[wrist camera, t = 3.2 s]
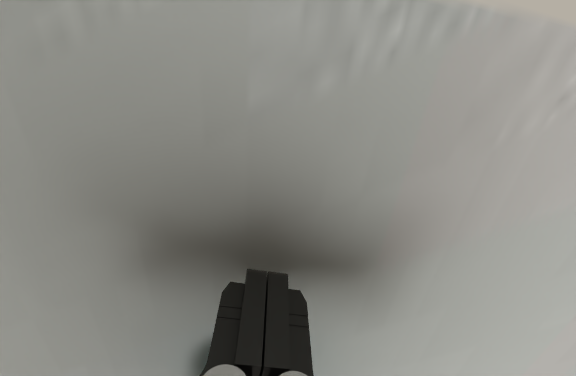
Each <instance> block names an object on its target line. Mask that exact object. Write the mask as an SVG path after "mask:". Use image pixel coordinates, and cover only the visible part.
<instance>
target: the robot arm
mask: <svg viewBox="0 0 576 376" xmlns="http://www.w3.org/2000/svg"><path fill="white" fill-rule="evenodd" d="M200 376H314V375H313V369H312V357H311V346H310V334H309V323H308V311H307V302H306V300H305V298H304V297H303V295H302V293H301V291H300V290H292V289H288V274H283V273H276V272H268V273H267V271H259V270H252V269H247V273H246V279H245V284H243V283H235V282H230V283H229V284H228V286H227V287H226V288H225V290H224V291H223V292H222V296H221V300H220V305H219V310H218V314H217V319H216V324H215V328H214V333H213V338H212V342H211V347H210V352H209V356H208V361H207V364H206V366H205V369H204V370H203V372H202V373H201V374H200Z"/></svg>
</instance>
